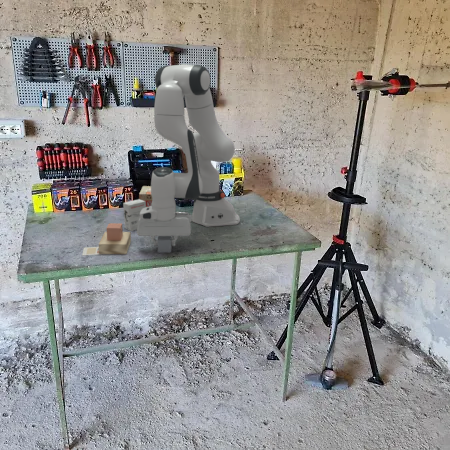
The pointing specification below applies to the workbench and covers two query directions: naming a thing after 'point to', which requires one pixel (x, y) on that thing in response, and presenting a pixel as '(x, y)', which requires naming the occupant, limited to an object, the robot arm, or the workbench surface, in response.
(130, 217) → the ink box
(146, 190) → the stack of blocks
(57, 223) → the workbench surface
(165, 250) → the grey brick
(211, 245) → the workbench surface
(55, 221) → the workbench surface
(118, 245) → the base brick
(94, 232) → the workbench surface
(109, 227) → the terracotta brick
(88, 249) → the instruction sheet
